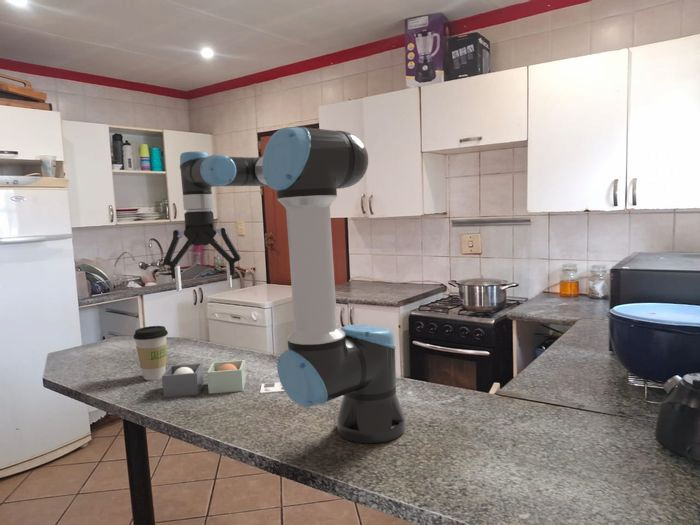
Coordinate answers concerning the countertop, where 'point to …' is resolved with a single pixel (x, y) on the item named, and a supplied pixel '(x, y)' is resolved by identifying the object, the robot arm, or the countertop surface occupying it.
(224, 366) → the ball terracotta
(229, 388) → the sage open box
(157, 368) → the coffee cup
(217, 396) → the countertop surface
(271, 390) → the card
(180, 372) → the ball white
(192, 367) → the grey open cubby box
